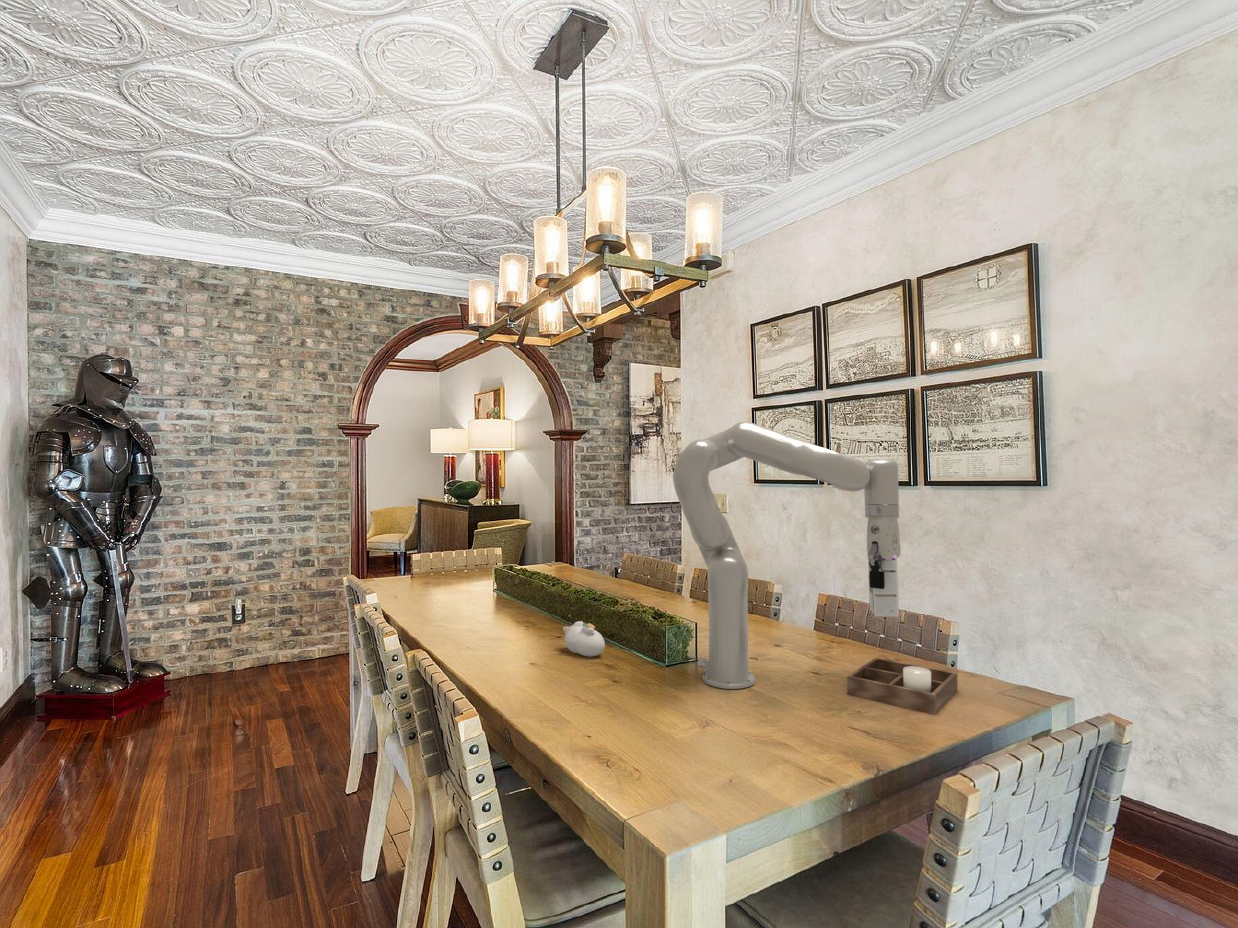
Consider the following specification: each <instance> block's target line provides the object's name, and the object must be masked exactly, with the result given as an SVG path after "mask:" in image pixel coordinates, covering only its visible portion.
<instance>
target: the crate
mask: <svg viewBox="0 0 1238 928" xmlns="http://www.w3.org/2000/svg"><path fill="white" fill-rule="evenodd" d="M908 666H916V667H922V668H926V669H929V670H930V671H931V693H929V692H924V691H919V690H914V689H910V688H905V687H903V668H904V667H908ZM958 684H959V683H958V672H954V671H948V670H945V669H938V668H933V667H928V666H922V665H915V664H912V663H906V662H901V661H897V660H890V659H886V658H885V659H884V658H880V657H879V658H878V657H874V658H873V659H871V660H869V661H868V662H867V663H865V664H864V665H862V666H861V667H859V668H857V669H856V670H855V671H853V672H852V673H849V675H847V676H846V694H847V695H848V696H853V697H855V698H861V699H865V700H870V701H874V702H879V703H884V704H886V705H887V704H888V705H892V706H896V707H900V708H904V709H909V710H912V711H917V712H923V713H926V714H930V715H935V716H936V714H937V713H938V712H939V711H940V710H941V709H942V708H943V707H944V705H946V704H947V702H949V701H950V699H952V697H953V696H954V695H956V693H957V692H958V686H959V685H958Z"/></svg>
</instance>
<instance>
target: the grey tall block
mask: <svg viewBox="0 0 1238 928" xmlns="http://www.w3.org/2000/svg"><path fill="white" fill-rule="evenodd" d="M876 558H881V557H879V556H877V555H876ZM867 560H868V559H867ZM867 562H868V564H867V565H868V566H867V567H868V591H869V592H868V597H869V612H870V613H871V614H872V615H873V616H874V617H879V618H880V617H881V618H899V616H900V612H899V611H900V609H899V608H900V607H899V606H900V605H899V604H900V603H899V601H900V599H899V598H900V597H899V578H898V577H899V576H898V558H897V556H896V555H893V559H892V560H891V561H886V560H885V559H884V565H883V572H884V583H885V588H884V589H877V588H871V587H870V571H869V560H868V561H867ZM878 564H880V562H878Z"/></svg>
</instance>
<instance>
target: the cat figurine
mask: <svg viewBox="0 0 1238 928" xmlns="http://www.w3.org/2000/svg"><path fill="white" fill-rule="evenodd" d="M595 629H596V626H595V625H593V624H592V623H590V622H589V623H587V622H583V620H581V621H579V620H578V621H575V622H574V623H573V624H571V625H570V626H562V630H563V633H564V636H563V637H564V638H563V639H564V643H565V646H566V647H567V649H569V651H570V652H572V653H574V654H579V655H581V656H584V657H588V658H590V657H595V656H599V655H600V654H602V653H603V652H604V650H605V647H606V643H605V639H604V637H603V635H602V634H601V633H600V632H598V631H597V630H595Z"/></svg>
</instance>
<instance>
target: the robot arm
mask: <svg viewBox="0 0 1238 928" xmlns="http://www.w3.org/2000/svg"><path fill="white" fill-rule="evenodd" d="M743 458H745V459H749V460H753V461H755V462H758V463H761V464H763V465H766V466H769V467H771V468H775V469H777V470H779V471H782V472H785V473H788V474H792V475H797V476H798V475H800V476H802V477H803V476H804V477H807V478H811V479H814V480H817V481H820V482H823V483H826V484H829V485H831V486H834V487H835V488H836V489H838V490H839V491H840V490H841V491H846V492H859V491H861V490H864V518H866V519H867V526H866V528H867V529H866V530H867V531H866V554H867V560H869V570H868V572H869V571H870V587H871V588H877V589H884V588H885V583H884V572H883V565H884V559H885V560H886V561H891V560H892V559H893V555H896V556H897V559H898V558H899V557H900V556H901V539H900V527H899V521H898V519H900V502H899V501H900V499H899V497H900V496H899V466H898V462H897V461H896V460H893V459H871V460H867V461H865V460H863V461H862V460H859V459H858V458H854V457H851V456H849V455H845V454H843V453H840V452H837V451H835V450H832V449H831V450H830V449H828V448H825V447H822V446H819V445H816V444H813V443H811V442H809V441H805V440H802V439H799V438H797V437H793V436H791V435H788V434H785V433H782V432H778V431H776V430H773V429H771V428H768V427H765V426H762V425H760V424H756V423H753V422H749V421H740V422H737V423H735V424H734V425H732V426H731V427H729V428H727V429H725V430H723V431H721V432H719V433H716V434H714V435H711V436H708V437H706V438H704V439H696V440H693V441H691V442H690V443H689V444H688V445H687V446H686V447H685V448H684V449H683V450H682V452H681V453H680V454H679V456H678V458H677V460H676V463H674V464H675V465H674V469H673V481H672V482H673V486H674V490H675V493H676V497H677V499H678V502H679V504H680V506H681V509H682V512H683V514H684V517H685V520H686V523H687V524H688V527H689V530H690V533H691V536H692V539H693V541H694V542H695V544H697V546H698V549H699V551H700V552H701V553H700V554H701V555H702V558H703V559H704V562H705V564H706V567H707V591H708V592H707V594H708V596H707V599H708V600H707V601H708V605H707V607H708V609H707V610H708V611H707V612H708V658H706V657H702V656H699V657H698V658H697V663H696V666H697V667H698V668H702V669H704V671H705V672H704V673H703V674H702V680H703V682H704V683H705V684H707V685H709V686H711V687H715V688H719V689H727V690H728V689H729V690H737V689H738V690H740V689H745V688H748V687H751V686H753V685H754V684H755V683H756V678H755V676H754V674H753V673H751V672H749V625H748V624H749V622H748V621H749V620H748V619H749V618H748V616H749V615H748V613H749V611H748V609H749V607H748V597H749V596H748V594H749V593H748V591H749V570H748V566H747V563H746V560H745V559H744V557H743V555H742V552H741V550H740V548H739V546H738V543H737V541H736V538H735V536H734V534H733V531H732V530H731V527H730V524H729V522H728V519H727V518H726V517H725V515H723V513H722V512H721V509H720V506H719V504H718V503H717V500H716V498H715V496H714V493H713V491H712V488H711V486H710V483H709V474H710V472H713V471H714V470H716V469H719V468H722V467H724V466H727V465H729V464H732V463H735V462H736V461H738V460H741V459H743ZM876 555H877V556H879V557H881V558H876ZM878 562H880V564H878Z"/></svg>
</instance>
